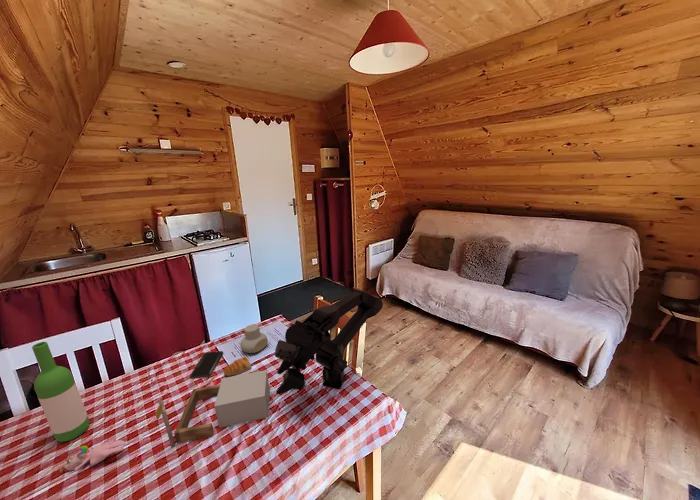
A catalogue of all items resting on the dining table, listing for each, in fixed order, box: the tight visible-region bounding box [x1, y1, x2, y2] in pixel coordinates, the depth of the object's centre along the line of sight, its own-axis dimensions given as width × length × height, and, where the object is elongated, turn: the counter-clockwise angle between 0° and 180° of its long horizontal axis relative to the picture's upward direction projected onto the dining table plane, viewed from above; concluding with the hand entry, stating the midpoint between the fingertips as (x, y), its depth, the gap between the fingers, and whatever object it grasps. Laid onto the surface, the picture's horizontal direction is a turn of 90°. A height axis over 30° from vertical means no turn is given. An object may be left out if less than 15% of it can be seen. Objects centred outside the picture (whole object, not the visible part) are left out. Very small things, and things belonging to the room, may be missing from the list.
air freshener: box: [239, 323, 268, 354], centre depth 123 cm, size 11×8×10 cm
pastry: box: [223, 355, 252, 377], centre depth 111 cm, size 9×7×4 cm
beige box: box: [214, 369, 271, 429], centre depth 93 cm, size 14×12×8 cm
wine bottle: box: [31, 341, 90, 443], centre depth 84 cm, size 8×8×30 cm
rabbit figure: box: [58, 439, 128, 473], centre depth 78 cm, size 6×6×15 cm
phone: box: [189, 350, 224, 380], centre depth 116 cm, size 8×1×15 cm
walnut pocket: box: [154, 383, 221, 449], centre depth 87 cm, size 11×21×15 cm, turn 11°
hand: (277, 383), depth 94 cm, fingers open, 9 cm apart
